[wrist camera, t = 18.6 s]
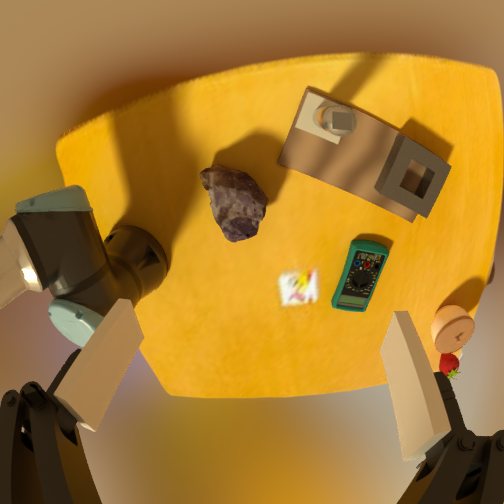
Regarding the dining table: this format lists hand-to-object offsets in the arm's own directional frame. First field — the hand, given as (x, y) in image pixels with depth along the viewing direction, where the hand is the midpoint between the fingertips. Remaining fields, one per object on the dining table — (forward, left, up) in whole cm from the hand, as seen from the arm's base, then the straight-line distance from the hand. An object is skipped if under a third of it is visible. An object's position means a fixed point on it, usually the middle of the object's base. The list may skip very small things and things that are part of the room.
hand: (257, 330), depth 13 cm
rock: (-5, -6, -35) cm, 36 cm away
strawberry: (+59, -25, -35) cm, 73 cm away
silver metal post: (+3, +11, -33) cm, 35 cm away
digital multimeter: (+21, -13, -35) cm, 43 cm away
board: (+12, +8, -35) cm, 37 cm away
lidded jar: (+48, -14, -35) cm, 61 cm away
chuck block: (+20, +9, -34) cm, 40 cm away
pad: (+3, +11, -34) cm, 36 cm away
